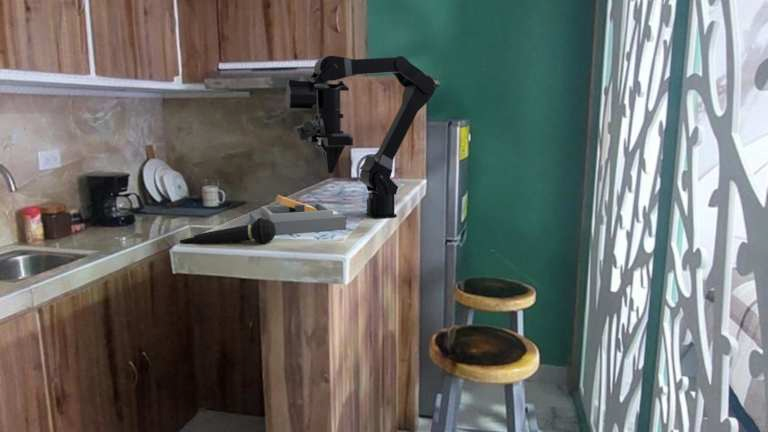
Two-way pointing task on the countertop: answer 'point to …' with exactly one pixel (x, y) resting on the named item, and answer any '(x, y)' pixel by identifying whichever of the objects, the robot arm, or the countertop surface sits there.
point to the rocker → (293, 203)
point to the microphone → (237, 234)
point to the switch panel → (300, 218)
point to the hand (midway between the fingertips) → (330, 173)
